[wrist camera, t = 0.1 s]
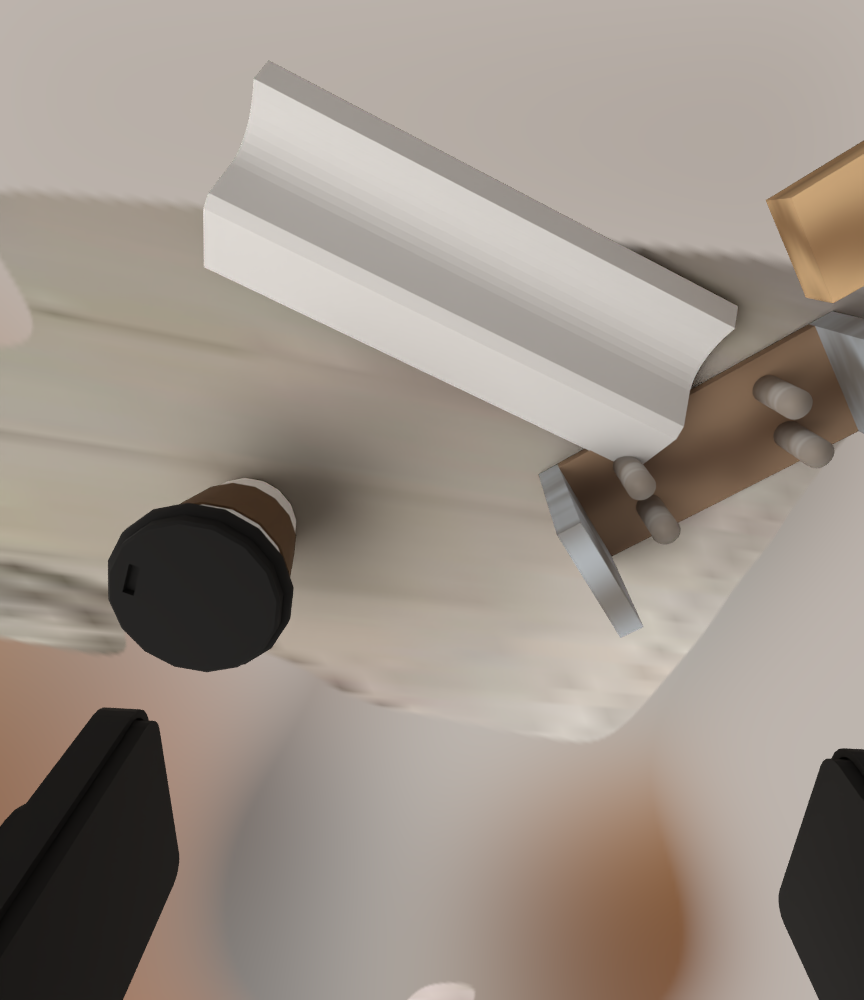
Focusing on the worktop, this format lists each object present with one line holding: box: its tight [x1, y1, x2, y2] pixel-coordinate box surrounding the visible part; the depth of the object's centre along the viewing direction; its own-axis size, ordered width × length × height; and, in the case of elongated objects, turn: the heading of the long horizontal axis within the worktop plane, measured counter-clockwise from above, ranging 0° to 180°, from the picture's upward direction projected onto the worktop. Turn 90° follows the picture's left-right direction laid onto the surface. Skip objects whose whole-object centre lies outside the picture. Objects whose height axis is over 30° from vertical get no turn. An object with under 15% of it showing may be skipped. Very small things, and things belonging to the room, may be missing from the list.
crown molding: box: [203, 61, 738, 464], centre depth 41 cm, size 31×12×4 cm, turn 65°
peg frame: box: [539, 311, 864, 638], centre depth 41 cm, size 8×21×10 cm, turn 122°
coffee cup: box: [108, 478, 296, 672], centre depth 44 cm, size 11×11×12 cm
